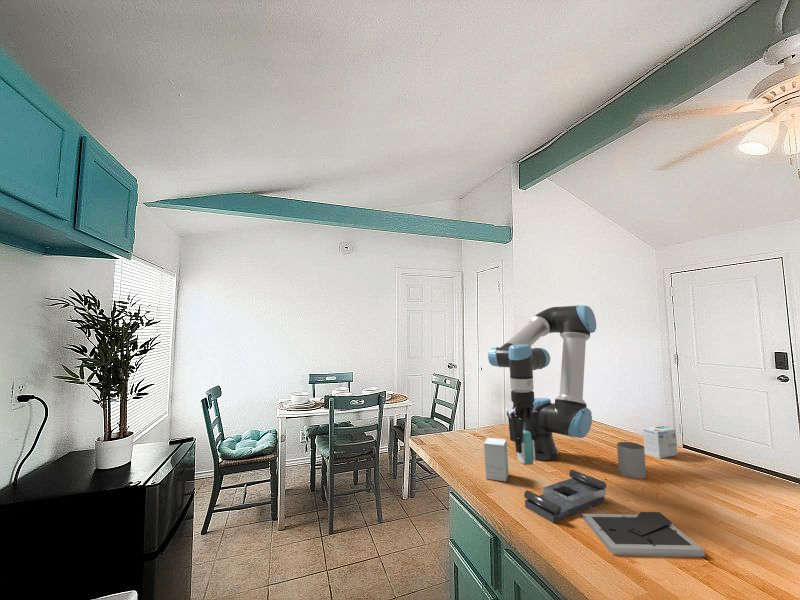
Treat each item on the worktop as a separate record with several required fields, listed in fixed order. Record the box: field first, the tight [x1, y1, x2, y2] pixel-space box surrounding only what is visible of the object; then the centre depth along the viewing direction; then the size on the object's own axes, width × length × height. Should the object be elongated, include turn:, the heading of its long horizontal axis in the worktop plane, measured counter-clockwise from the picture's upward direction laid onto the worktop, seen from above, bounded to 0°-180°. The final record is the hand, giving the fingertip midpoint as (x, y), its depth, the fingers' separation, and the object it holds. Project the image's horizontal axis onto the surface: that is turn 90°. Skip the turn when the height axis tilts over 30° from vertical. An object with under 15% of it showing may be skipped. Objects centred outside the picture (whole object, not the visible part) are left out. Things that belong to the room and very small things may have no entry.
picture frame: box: [582, 511, 706, 558], centre depth 91 cm, size 16×3×21 cm
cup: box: [616, 441, 647, 479], centre depth 130 cm, size 8×8×10 cm
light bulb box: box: [642, 425, 678, 459], centre depth 148 cm, size 11×7×11 cm, turn 108°
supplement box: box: [483, 437, 509, 482], centre depth 130 cm, size 7×7×13 cm
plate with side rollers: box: [523, 469, 607, 524], centre depth 108 cm, size 11×24×6 cm, turn 118°
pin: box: [519, 430, 534, 466], centre depth 119 cm, size 4×4×10 cm
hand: (526, 460), depth 119 cm, fingers closed on pin, 4 cm apart
